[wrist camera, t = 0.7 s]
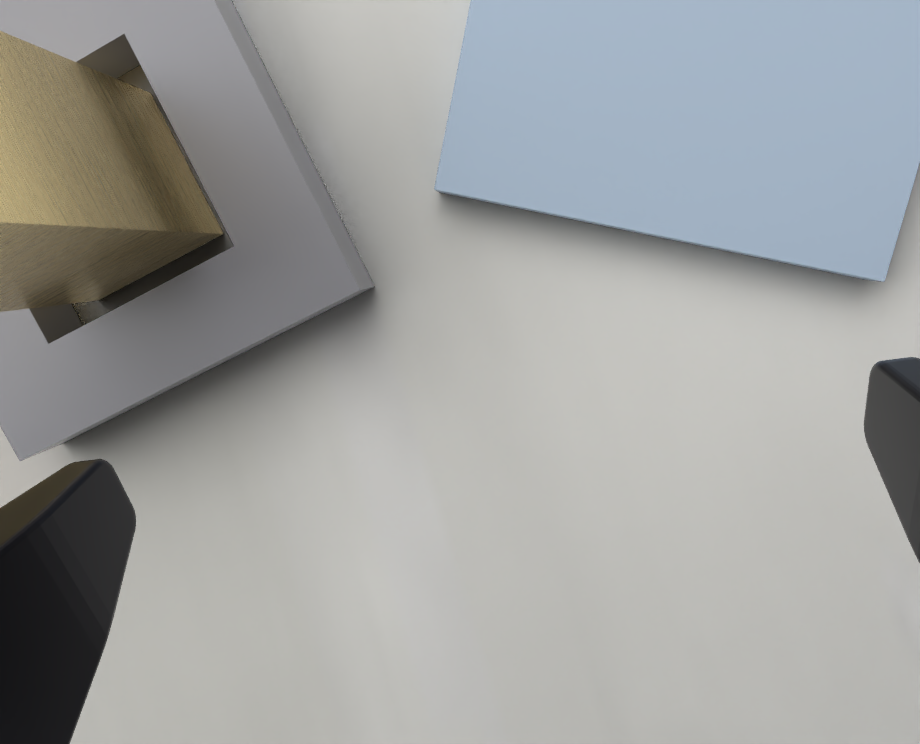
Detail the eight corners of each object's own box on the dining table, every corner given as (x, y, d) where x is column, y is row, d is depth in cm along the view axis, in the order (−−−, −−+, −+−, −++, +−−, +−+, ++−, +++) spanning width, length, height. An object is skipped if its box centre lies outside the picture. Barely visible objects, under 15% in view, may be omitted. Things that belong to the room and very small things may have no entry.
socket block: (374, 286, 22) (359, 289, 21) (61, 444, 24) (19, 461, 22) (193, -78, 21) (158, -110, 19) (-123, 113, 23) (-184, 100, 21)
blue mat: (867, 280, 21) (884, 281, 20) (438, 192, 22) (434, 188, 21) (1008, -200, 19) (1034, -224, 18) (531, -281, 20) (530, -309, 19)
